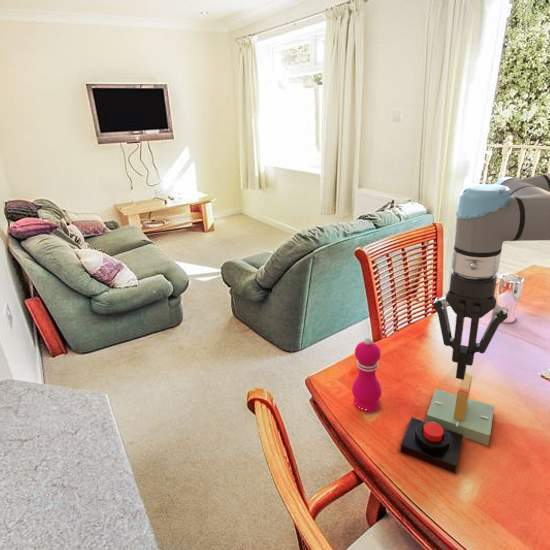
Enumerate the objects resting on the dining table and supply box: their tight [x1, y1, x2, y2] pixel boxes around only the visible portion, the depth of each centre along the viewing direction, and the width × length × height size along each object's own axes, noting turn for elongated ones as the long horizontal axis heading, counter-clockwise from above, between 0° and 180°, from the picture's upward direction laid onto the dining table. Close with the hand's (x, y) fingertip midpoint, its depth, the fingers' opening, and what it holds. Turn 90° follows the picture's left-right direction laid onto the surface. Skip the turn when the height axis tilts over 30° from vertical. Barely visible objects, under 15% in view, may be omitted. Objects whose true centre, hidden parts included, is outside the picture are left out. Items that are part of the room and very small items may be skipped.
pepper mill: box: [351, 336, 382, 413], centre depth 92 cm, size 7×7×20 cm
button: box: [423, 422, 444, 442], centre depth 81 cm, size 4×4×2 cm
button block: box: [400, 417, 464, 474], centre depth 82 cm, size 11×9×4 cm
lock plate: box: [425, 388, 495, 446], centre depth 88 cm, size 13×11×3 cm
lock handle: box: [454, 373, 473, 421], centre depth 86 cm, size 7×2×8 cm, turn 147°
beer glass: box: [496, 273, 525, 324], centre depth 123 cm, size 7×7×15 cm
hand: (460, 375), depth 78 cm, fingers closed
